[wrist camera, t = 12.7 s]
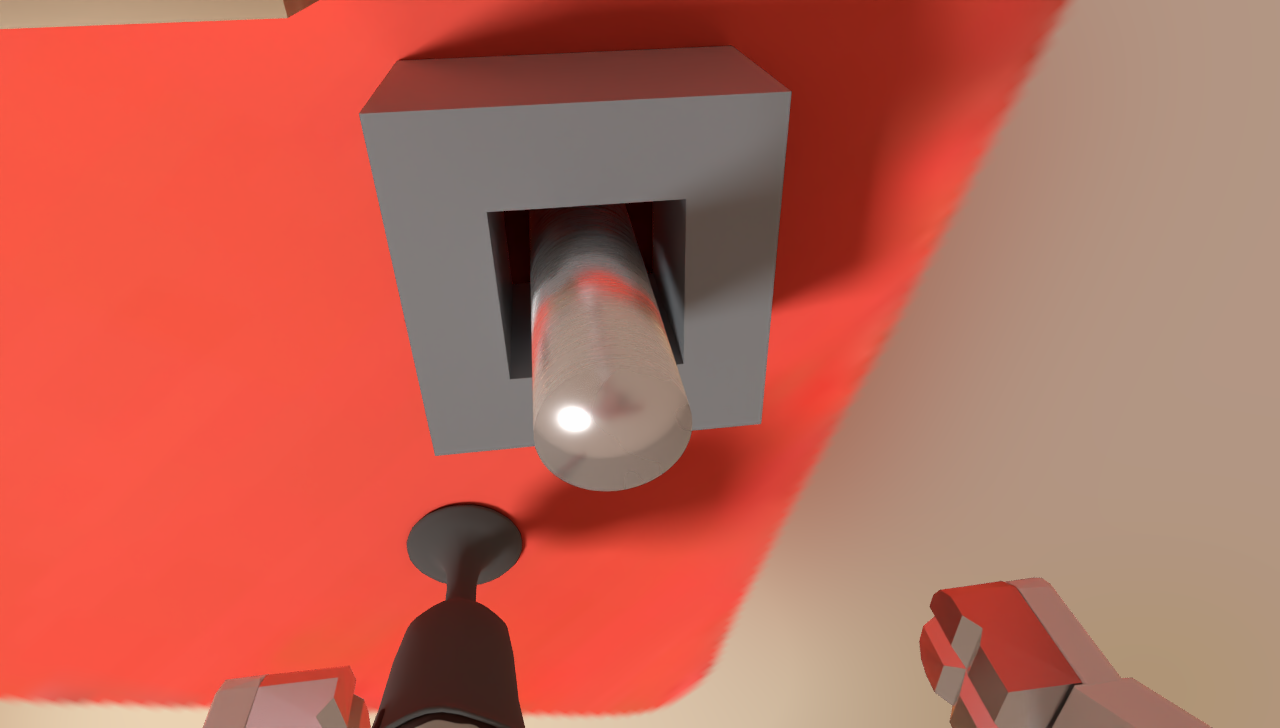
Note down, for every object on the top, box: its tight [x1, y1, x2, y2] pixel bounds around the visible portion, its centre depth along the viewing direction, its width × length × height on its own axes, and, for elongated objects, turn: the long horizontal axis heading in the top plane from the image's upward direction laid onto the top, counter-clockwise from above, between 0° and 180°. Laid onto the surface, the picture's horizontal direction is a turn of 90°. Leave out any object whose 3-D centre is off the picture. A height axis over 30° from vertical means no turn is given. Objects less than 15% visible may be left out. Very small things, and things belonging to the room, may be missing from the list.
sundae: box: [372, 505, 525, 728], centre depth 26 cm, size 7×7×15 cm
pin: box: [529, 203, 692, 491], centre depth 20 cm, size 3×3×12 cm
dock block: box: [359, 46, 792, 456], centre depth 22 cm, size 10×10×6 cm
